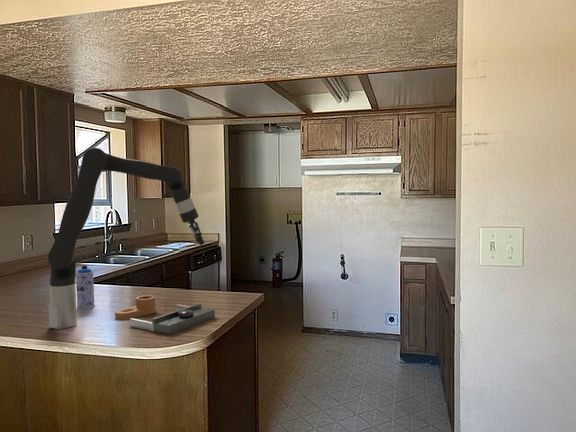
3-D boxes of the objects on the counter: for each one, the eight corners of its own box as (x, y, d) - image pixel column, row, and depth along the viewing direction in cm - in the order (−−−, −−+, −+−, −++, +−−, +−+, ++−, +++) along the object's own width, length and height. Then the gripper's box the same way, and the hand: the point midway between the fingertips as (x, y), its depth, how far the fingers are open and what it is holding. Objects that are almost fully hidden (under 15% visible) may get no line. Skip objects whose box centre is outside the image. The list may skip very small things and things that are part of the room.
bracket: (149, 309, 204) (149, 294, 203) (158, 312, 198) (158, 297, 198) (112, 317, 191) (111, 301, 191) (120, 320, 185) (119, 304, 185)
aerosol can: (73, 308, 206) (71, 266, 205) (85, 304, 214) (84, 264, 212) (85, 309, 203) (84, 267, 202) (98, 305, 211) (97, 264, 210)
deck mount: (169, 334, 165) (168, 321, 165) (129, 326, 177) (129, 313, 176) (214, 317, 188) (214, 305, 187) (177, 310, 199) (177, 299, 199)
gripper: (177, 212, 198) (191, 245, 201) (180, 214, 185) (194, 248, 188) (193, 206, 201) (206, 238, 203) (196, 207, 187) (211, 241, 190)
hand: (200, 243), depth 195 cm, fingers open, 8 cm apart
